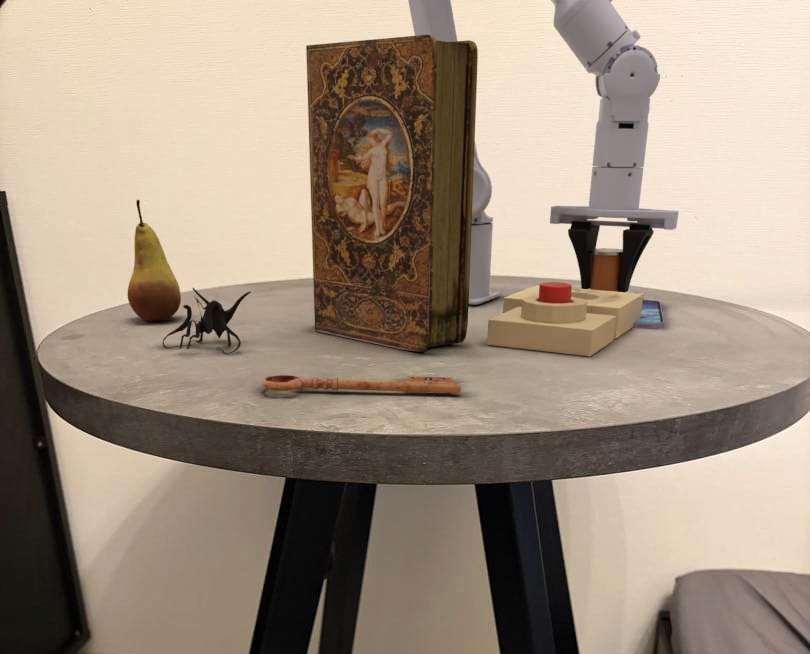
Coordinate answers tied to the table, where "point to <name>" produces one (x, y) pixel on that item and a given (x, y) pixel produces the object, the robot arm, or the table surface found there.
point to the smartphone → (650, 316)
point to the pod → (606, 269)
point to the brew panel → (552, 327)
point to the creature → (209, 322)
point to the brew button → (555, 292)
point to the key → (364, 384)
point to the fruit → (152, 278)
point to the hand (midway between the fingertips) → (605, 290)
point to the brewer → (594, 304)
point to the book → (392, 188)
